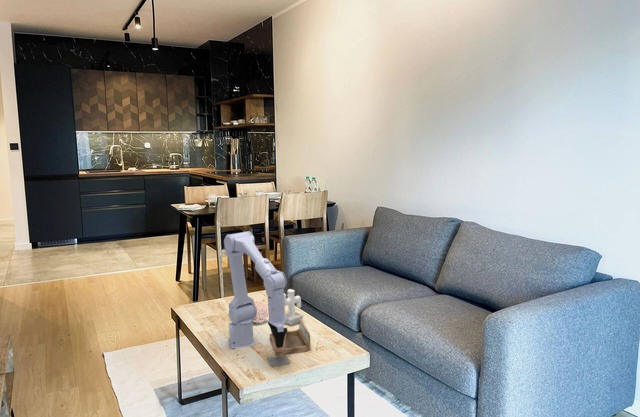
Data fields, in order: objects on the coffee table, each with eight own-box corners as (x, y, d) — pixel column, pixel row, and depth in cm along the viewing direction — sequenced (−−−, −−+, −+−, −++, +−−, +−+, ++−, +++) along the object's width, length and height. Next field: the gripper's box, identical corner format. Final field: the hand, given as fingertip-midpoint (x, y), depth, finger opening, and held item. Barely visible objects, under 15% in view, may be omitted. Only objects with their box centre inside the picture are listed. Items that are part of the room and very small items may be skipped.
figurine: (306, 322, 211) (304, 289, 209) (288, 328, 205) (287, 294, 203) (295, 318, 217) (294, 285, 215) (278, 324, 211) (276, 290, 209)
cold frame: (276, 357, 179) (276, 340, 178) (269, 339, 195) (268, 324, 194) (311, 352, 182) (310, 335, 181) (301, 335, 198) (300, 320, 197)
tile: (270, 368, 171) (270, 366, 171) (267, 359, 178) (267, 357, 177) (290, 365, 173) (290, 363, 172) (286, 356, 179) (286, 355, 179)
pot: (273, 353, 172) (272, 338, 170) (270, 346, 177) (269, 331, 175) (288, 350, 173) (287, 335, 172) (284, 343, 178) (283, 328, 177)
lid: (308, 352, 183) (308, 332, 182) (299, 336, 197) (299, 318, 196) (310, 351, 183) (309, 332, 182) (301, 336, 198) (300, 318, 196)
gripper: (291, 312, 166) (293, 350, 168) (283, 299, 180) (285, 334, 182) (271, 315, 164) (272, 353, 166) (264, 301, 178) (266, 337, 180)
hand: (278, 343), depth 174 cm, fingers closed on pot, 5 cm apart
